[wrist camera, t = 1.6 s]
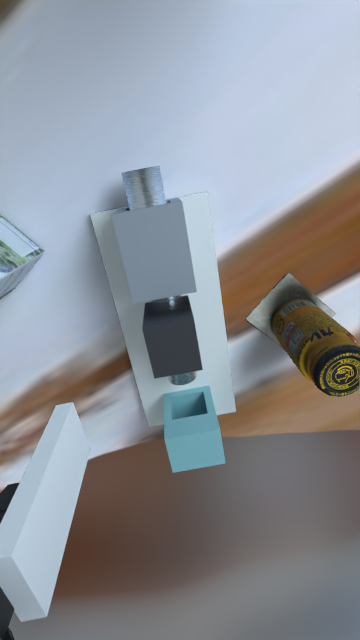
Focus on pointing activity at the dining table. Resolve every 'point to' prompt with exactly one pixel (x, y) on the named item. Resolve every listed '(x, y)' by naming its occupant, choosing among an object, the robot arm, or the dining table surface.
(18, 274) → the syrup box
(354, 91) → the dining table surface
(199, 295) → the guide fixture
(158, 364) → the tube
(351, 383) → the condiment
